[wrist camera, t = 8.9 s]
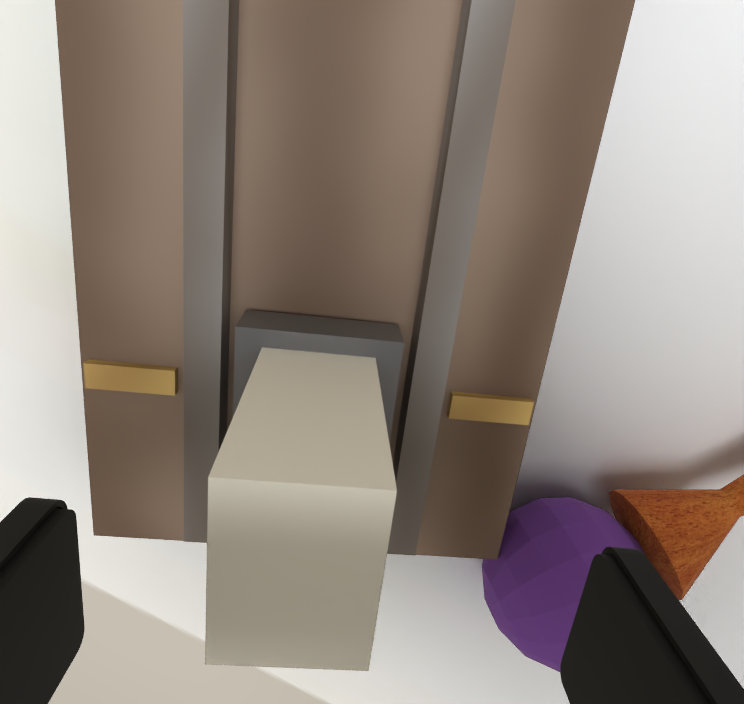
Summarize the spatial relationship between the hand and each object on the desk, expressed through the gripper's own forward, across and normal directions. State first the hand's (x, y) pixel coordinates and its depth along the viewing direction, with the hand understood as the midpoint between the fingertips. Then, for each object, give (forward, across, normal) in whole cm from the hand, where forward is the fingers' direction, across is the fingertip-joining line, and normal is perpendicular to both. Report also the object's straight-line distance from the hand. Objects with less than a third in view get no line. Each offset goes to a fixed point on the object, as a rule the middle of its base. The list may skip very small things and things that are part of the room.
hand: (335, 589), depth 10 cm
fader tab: (+7, +1, -1) cm, 7 cm away
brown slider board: (+10, +1, -6) cm, 12 cm away
